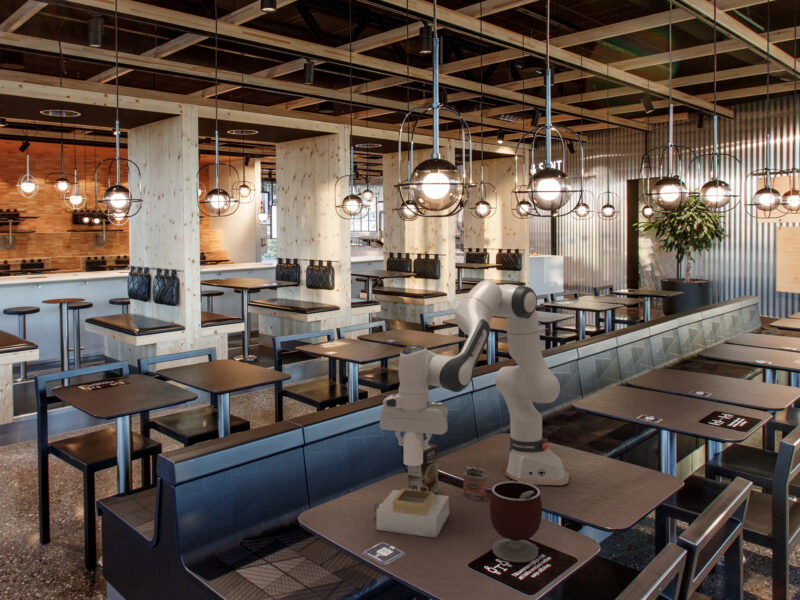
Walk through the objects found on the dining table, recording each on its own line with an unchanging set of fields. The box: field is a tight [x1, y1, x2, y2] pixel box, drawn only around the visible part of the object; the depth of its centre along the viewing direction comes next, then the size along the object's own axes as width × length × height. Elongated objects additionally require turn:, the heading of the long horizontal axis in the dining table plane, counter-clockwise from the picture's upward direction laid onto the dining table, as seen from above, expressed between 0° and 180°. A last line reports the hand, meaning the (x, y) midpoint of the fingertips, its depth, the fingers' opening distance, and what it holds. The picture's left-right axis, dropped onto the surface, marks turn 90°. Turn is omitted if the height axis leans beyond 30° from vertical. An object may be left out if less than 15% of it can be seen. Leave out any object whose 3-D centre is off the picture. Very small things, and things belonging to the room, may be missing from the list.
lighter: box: [462, 466, 488, 501], centre depth 211 cm, size 8×3×10 cm, turn 62°
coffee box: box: [407, 443, 439, 494], centre depth 214 cm, size 9×6×16 cm
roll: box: [402, 432, 424, 466], centre depth 191 cm, size 6×12×6 cm
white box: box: [374, 488, 450, 539], centre depth 193 cm, size 21×16×8 cm
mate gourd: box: [489, 481, 543, 563], centre depth 173 cm, size 16×14×20 cm
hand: (413, 446), depth 191 cm, fingers closed on roll, 6 cm apart
